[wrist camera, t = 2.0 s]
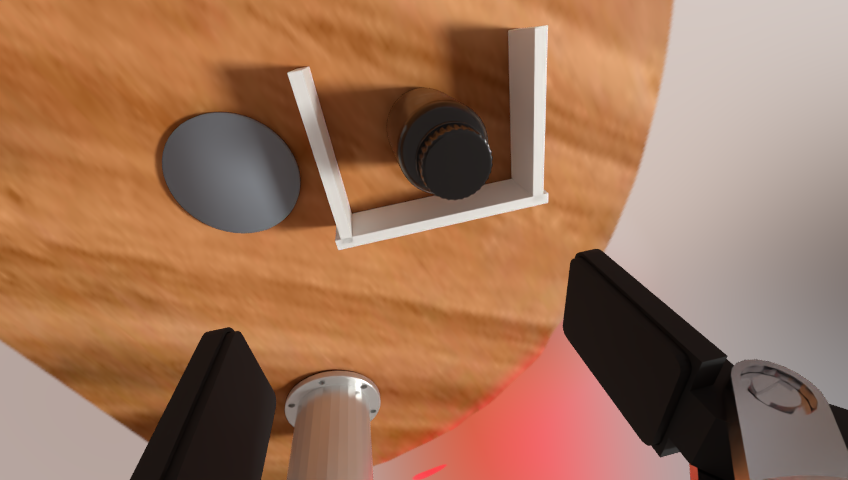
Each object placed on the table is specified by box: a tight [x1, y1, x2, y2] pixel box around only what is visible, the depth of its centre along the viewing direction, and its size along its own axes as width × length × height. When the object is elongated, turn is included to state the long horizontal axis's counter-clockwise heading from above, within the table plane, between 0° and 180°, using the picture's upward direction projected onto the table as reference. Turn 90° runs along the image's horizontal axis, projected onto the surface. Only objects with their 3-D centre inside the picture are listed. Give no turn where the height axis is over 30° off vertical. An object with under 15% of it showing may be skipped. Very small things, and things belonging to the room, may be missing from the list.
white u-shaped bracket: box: [287, 25, 548, 250], centre depth 30 cm, size 14×20×5 cm
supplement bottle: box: [387, 88, 493, 200], centre depth 27 cm, size 7×7×12 cm
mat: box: [162, 112, 300, 233], centre depth 31 cm, size 11×11×1 cm
